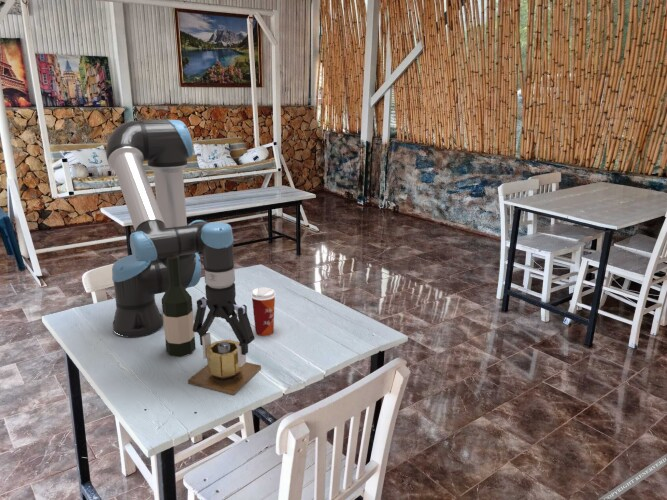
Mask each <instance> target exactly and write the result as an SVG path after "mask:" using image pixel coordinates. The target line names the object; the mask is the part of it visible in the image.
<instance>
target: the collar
mask: <svg viewBox="0 0 667 500" xmlns="http://www.w3.org/2000/svg"><path fill="white" fill-rule="evenodd" d="M220 342H229V343H230V353H227V354H218V344H219V343H220ZM238 343H240V342H239V341H236V340H232V339H224V340H217V341H214V342H211V345H209V346H208V347H207V348H206V350H207V358H206V360H207V362H206V365H207V364H208V370H209V373H210V374H211V375H214V376H218V377H222V376H223V377H226V376H231V375H235V374H237V373H238V372H239V371H240V370H241V369H242V368H243V366H242V367H239V366H238V348H237V344H238Z"/></svg>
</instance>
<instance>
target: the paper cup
mask: <svg viewBox="0 0 667 500" xmlns="http://www.w3.org/2000/svg"><path fill="white" fill-rule="evenodd" d="M276 296H277V294H276V292H275V290H274V289H272V288H270V287H256V288H254V289H253V290H252V292H251V294H250V297H251V300H252V311H253V320H254V328H255V329H254V330H255V334H256V335H257V336H259V337H268V336H271V335H272V334H273V333H274V326H275V299H276Z"/></svg>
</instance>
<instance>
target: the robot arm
mask: <svg viewBox="0 0 667 500" xmlns="http://www.w3.org/2000/svg"><path fill="white" fill-rule="evenodd" d="M193 155H194V144H193V140H192V136H191V133H190V131H189V129H188V127H187V125H186V124H185V122H183V120H182V121H181V120H179V119H153V120H151V119H150V120H130V121H126V122H124V123H122V124H120V125H118V127H116V128H115V130H113V131H112V133H111V135H110V136H109V138H108V140H107V142H106V146H105V156H106V157H105V158H106V159H107V163H108V166H109V168H110V169H111V170H112V171H114V172H115V175H116V178H117V182H118V184H119V187H120V190H121V194H122V196H123V199H124V202H125V205H126V208H127V211H128V213H129V214H128V215H129V217H130V221H131V222H132V226H133V229H134V231H135V232H132V233H131V234H130V235H129V245H130V249H131V254H130V255H126V256H123V257H121V258H120V259H118V260H117V261H115V262H114V264H113V265H112V267H111V269H112V270H111V274H112V277H111V278H112V282H113V283H112V284H113V291H114V298H115V306H116V309H115V312H114V318H113V322H112V329H113V330H114V331H115V332H116V333H118V334H120V335H123V336H128V337H127V338H141V337H146V336H148V335H151V334H154V333H156V332H158V331H159V330H161V328H162V327H164V321H163V314H161V312H160V309H159V308H158V305H157V303H156V297H155V295H159V294H165V292H166V290H167V288H168V286H169V278H168V267H167V258H168V257H173V256H179V259H180V271H181V283H182V285H183V287H184V288H185V289H186V290H187V289H188V288H192V287H195V286H197V285H198V283H199V282H200V279H201V277H202V262H201V257H200V254H201V255H202V257H203V259H202V260H203V269H204V273H203V274H204V284H205V285H204V289H205V291H204V292H205V297H204V296H202V297H200V298H199V299H198V300H196V312H195V317H194V320H193V321H194V325H193V332H194V333H197V334H198V335H199V343H200V345H201V346H202V354H203V355H202V356H203V359H205V360H207V350H206V348H207V347H208V346H209V345H211V344H212V341H211V340H212V339H211V332H210V331H209V329H210V328H211V325H212V323H213V322H214V320H215V318H220V319H223V320H225V322H226V323H228V325H229V326H230V328H231V330H232V331H233V333H234V335H235V336H236V339H237V340H238V342H239V343H238V344H237V348H238V366H239V367H242V366H243V365H244V364H245V363H246V362H247V354H248V352H249V344H251V343H252V342H253V341H254V340H255V335H254V332H253V329H252V325H251V322H250V319H249V316H248V309H247V305H246V304H242V305H239V304H237V303H236V295H237V294H236V283H235V281H236V273H235V259H234V258H235V256H234V255H235V254H234V236H233V227H232V226H231V224H229V223H227V222H226V223H224V222H221V221H220V222H217V221H215V222H208V221H205V220H203V219H196V220H193V221H192V222H190V223H189V224H188V222H187V221H188V220H187V207H186V194H185V182H184V170H185V168H186V167H187V166H188V159H190V158H192V157H193ZM146 161H147V167H148V168H149V169H150V170H152V172H153V178H154V186H155V187H154V188H155V194H154V191H153V188H152V186H151V183H150V180H149V177H148V175H147V172H146V169H145V167H144V164H143V163H144V162H146ZM199 253H200V254H199ZM207 307H208V309H209V311H208V313H207V315H206V318H205V313H206V310H207ZM114 331H113V332H114ZM208 331H209V332H208ZM140 336H141V337H140Z"/></svg>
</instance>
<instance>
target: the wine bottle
mask: <svg viewBox="0 0 667 500" xmlns="http://www.w3.org/2000/svg"><path fill="white" fill-rule="evenodd" d="M167 267H168V278H169V286H168V288H167V290H166V292H164V293H163V296H162V297H161V309H162V318H163V330H164V338H165V339H164V340H165V349H166V353H167V354H168V355H169V357H177V358H182V357H185V356H188V355H192V353H194V351H195V350H196V348H197V347H196V336H195V332H193V325H194V321H195V320H194V312H193V311H194V310H193V298H192V296H191V294H190V293H189V292H188V291H187V288H186V289H185V288H184V287H183V285H182V283H181V271H180V259H179V256H173V257H168V258H167Z"/></svg>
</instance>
